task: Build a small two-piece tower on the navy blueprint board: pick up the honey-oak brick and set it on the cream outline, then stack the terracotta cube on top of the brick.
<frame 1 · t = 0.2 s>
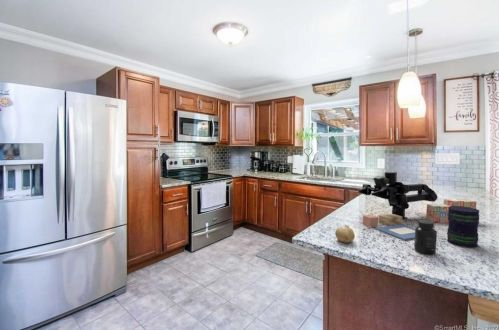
hand: (364, 192, 129), 16 cm above the countertop, tool horizontal, fingers open, 9 cm apart
storage jar: (461, 243, 99), on the countertop
blueprint board: (403, 232, 113), on the countertop
stack of blocks: (450, 222, 130), on the countertop
supplement bottle: (424, 252, 91), on the countertop
terracotta cube: (370, 225, 124), on the countertop
oak brick: (390, 223, 129), on the countertop
onion: (344, 241, 103), on the countertop
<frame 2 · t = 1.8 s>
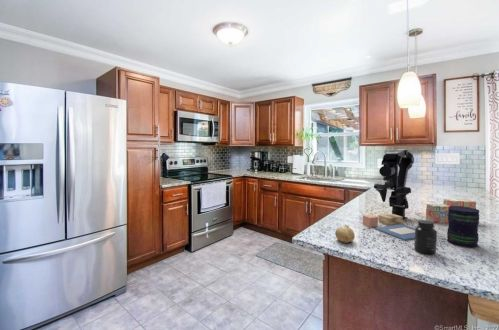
hand: (390, 203, 128), 11 cm above the countertop, tool pointing down, fingers open, 9 cm apart
nothing on the countertop moved.
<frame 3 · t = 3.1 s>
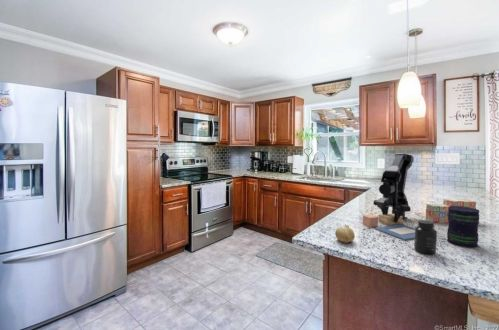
hand: (390, 220, 128), 1 cm above the countertop, tool pointing down, fingers closed on oak brick, 6 cm apart
oak brick: (390, 222, 129), on the countertop, touching gripper
everything else where it was.
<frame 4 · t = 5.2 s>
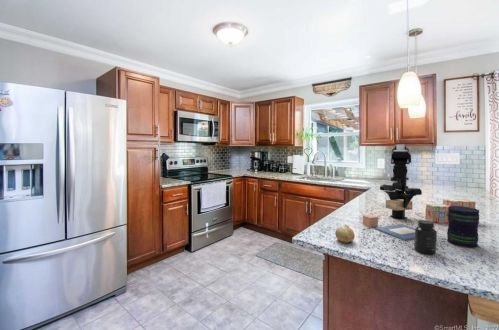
hand: (398, 206, 117), 12 cm above the countertop, tool pointing down, fingers closed on oak brick, 6 cm apart
oak brick: (398, 208, 117), point 11 cm above the countertop, touching gripper
everything else where it was.
when the fingers open (3 cm above the countertop, at t = 7.5 s): oak brick drops 1 cm, resting on blueprint board.
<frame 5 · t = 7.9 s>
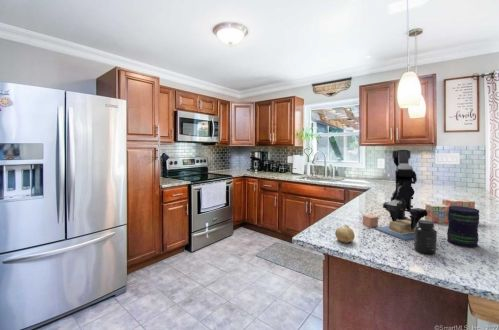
hand: (403, 226, 113), 3 cm above the countertop, tool pointing down, fingers open, 9 cm apart
oak brick: (402, 230, 113), point 1 cm above the countertop, touching blueprint board
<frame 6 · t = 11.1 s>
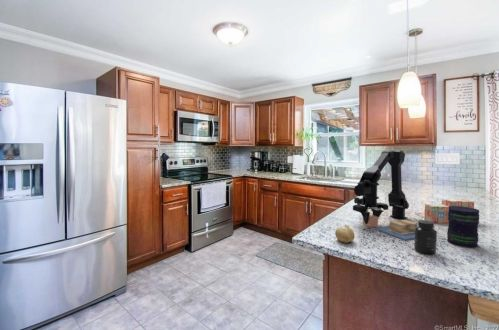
hand: (370, 223, 124), 1 cm above the countertop, tool pointing down, fingers closed on terracotta cube, 5 cm apart
terracotta cube: (370, 225, 124), on the countertop, touching gripper
when the fingers open (7 cm above the countertop, at t = 14.8 s): terracotta cube drops 1 cm, resting on oak brick.
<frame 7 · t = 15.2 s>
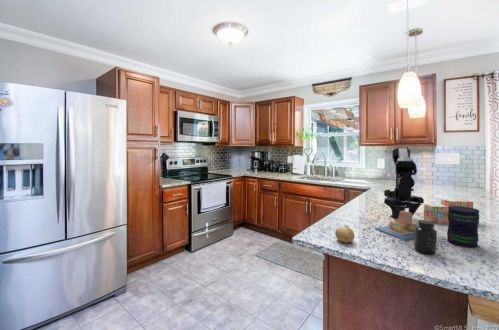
hand: (403, 218, 112), 7 cm above the countertop, tool pointing down, fingers open, 9 cm apart
terracotta cube: (403, 222, 113), point 5 cm above the countertop, touching oak brick
oak brick: (402, 230, 113), point 1 cm above the countertop, touching blueprint board, terracotta cube
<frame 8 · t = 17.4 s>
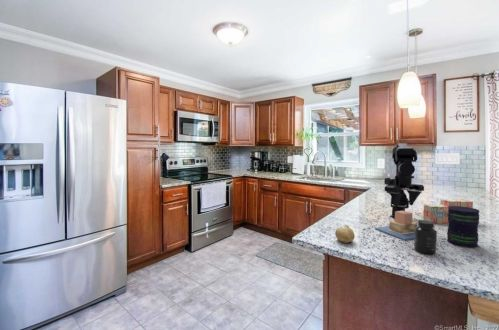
hand: (403, 205, 112), 13 cm above the countertop, tool pointing down, fingers open, 9 cm apart
at the end: oak brick 0.1 cm from the target spot, point 0.9 cm above the countertop; terracotta cube 0.1 cm off-centre on the oak brick, point 4.0 cm above the oak brick's base; terracotta cube tilted 0° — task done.
